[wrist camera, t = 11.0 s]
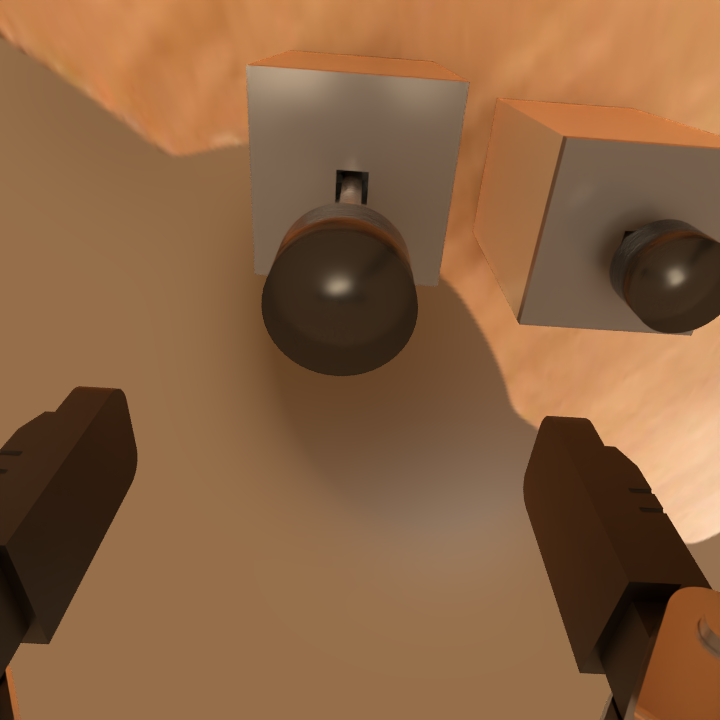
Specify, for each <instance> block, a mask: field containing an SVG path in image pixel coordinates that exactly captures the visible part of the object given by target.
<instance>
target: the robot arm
mask: <svg viewBox="0 0 720 720" xmlns="http://www.w3.org/2000/svg"><path fill="white" fill-rule="evenodd" d="M136 468H137V447H136V443H135V438H134V433H133V428H132V424H131V419H130V414H129V409H128V405H127V400H126V396H125V394H124V392H123V391H122V390H121V389H115V388H98V387H82V386H79V387H76V388H75V389H73V390H72V392H71V393H70V394H69V395H68V397H67V398H66V399H65V400H64V401H63V403H62V404H61V405H60V406H59V408H58V409H57V410H56V412H44V413H42V414H41V415H39V416H38V417H36V418H34V419H33V420H31V421H30V422H28V423H27V424H25V425H24V426H22V427H21V428H19V429H18V430H17V431H16V432H15V433H14V434H13V436H12V437H11V438H10V439H9V440H8V441H7V442H6V444H5V445H4V446H3V447H2V448H1V449H0V720H21V717H20V712H19V707H18V701H17V696H16V691H15V686H14V681H13V676H12V671H11V668H10V666H9V663H10V661H11V659H12V657H13V656H14V654H15V652H16V650H17V649H18V647H19V645H20V643H34V644H35V643H36V644H49V643H50V641H51V639H52V637H53V635H54V633H55V631H56V629H57V627H58V626H59V624H60V621H61V619H62V617H63V616H64V614H65V612H66V610H67V608H68V606H69V604H70V602H71V600H72V598H73V596H74V594H75V593H76V591H77V589H78V587H79V585H80V582H81V581H82V579H83V577H84V575H85V573H86V571H87V569H88V567H89V565H90V563H91V561H92V559H93V557H94V556H95V554H96V551H97V550H98V548H99V546H100V544H101V542H102V540H103V538H104V536H105V534H106V532H107V530H108V528H109V527H110V525H111V523H112V521H113V519H114V517H115V515H116V513H117V511H118V509H119V507H120V505H121V503H122V501H123V499H124V497H125V496H126V494H127V492H128V490H129V488H130V486H131V484H132V481H133V479H134V476H135V473H136ZM523 490H524V491H523V492H524V501H525V506H526V509H527V512H528V515H529V518H530V521H531V525H532V528H533V531H534V534H535V536H536V540H537V543H538V546H539V549H540V552H541V555H542V558H543V561H544V564H545V568H546V571H547V574H548V577H549V580H550V583H551V586H552V589H553V592H554V595H555V598H556V601H557V604H558V607H559V611H560V614H561V617H562V620H563V623H564V626H565V629H566V632H567V635H568V638H569V641H570V644H571V648H572V651H573V653H574V657H575V660H576V663H577V666H578V669H579V672H580V673H591V674H606V677H607V680H608V683H609V685H610V688H611V691H612V692H611V694H610V695H609V697H608V699H607V701H606V704H605V706H604V709H603V712H602V715H601V717H600V720H720V592H718V591H715V590H713V589H712V588H711V586H710V585H709V583H708V581H707V580H706V578H705V577H704V575H703V573H702V571H701V570H700V568H699V567H698V565H697V563H696V562H695V560H694V558H693V557H692V555H691V553H690V552H689V550H688V549H687V547H686V545H685V544H684V542H683V540H682V539H681V537H680V535H679V534H678V532H677V530H676V529H675V527H674V525H673V524H672V522H671V520H670V519H669V517H668V516H667V514H666V513H663V507H662V506H661V504H660V502H659V501H658V499H657V497H656V496H655V494H652V493H651V490H652V489H651V488H650V486H649V484H648V483H647V481H646V479H645V478H644V476H643V474H642V473H641V471H640V469H639V468H638V466H636V465H635V464H634V463H633V462H632V461H631V460H630V459H628V458H627V457H626V456H625V455H624V454H623V453H622V452H621V451H619V450H618V449H617V448H616V447H611V446H604V444H603V442H602V440H601V439H600V437H599V435H598V433H597V431H596V430H595V428H594V426H593V424H592V423H591V421H590V420H588V419H587V418H573V417H556V416H546V417H545V418H544V419H543V421H542V423H541V425H540V428H539V431H538V434H537V438H536V441H535V444H534V447H533V450H532V453H531V457H530V460H529V463H528V466H527V469H526V473H525V477H524V486H523Z"/></svg>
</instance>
